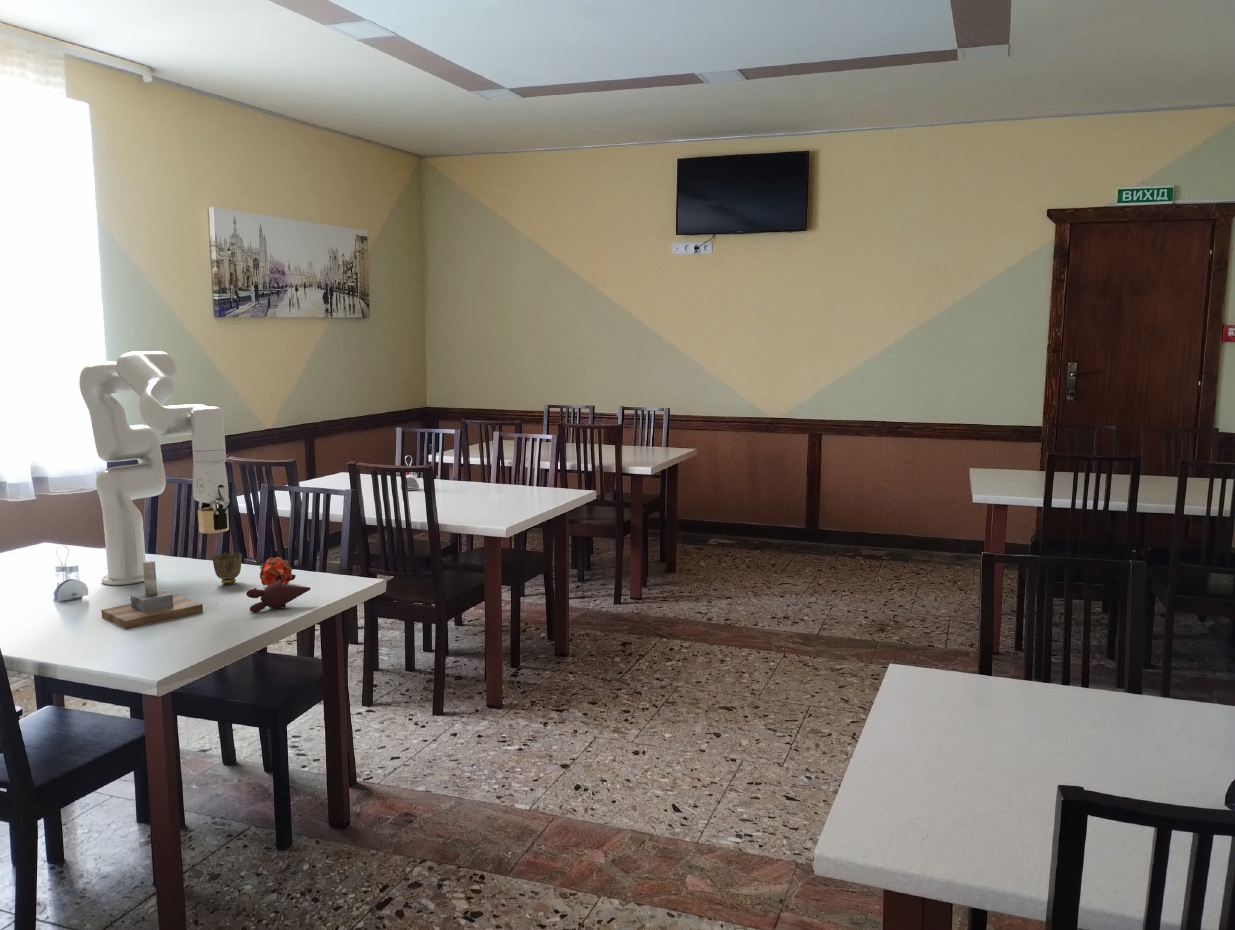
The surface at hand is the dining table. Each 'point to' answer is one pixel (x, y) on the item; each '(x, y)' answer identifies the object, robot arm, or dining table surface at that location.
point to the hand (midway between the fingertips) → (213, 526)
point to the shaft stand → (151, 605)
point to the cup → (227, 567)
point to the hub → (208, 521)
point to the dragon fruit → (276, 571)
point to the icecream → (275, 595)
